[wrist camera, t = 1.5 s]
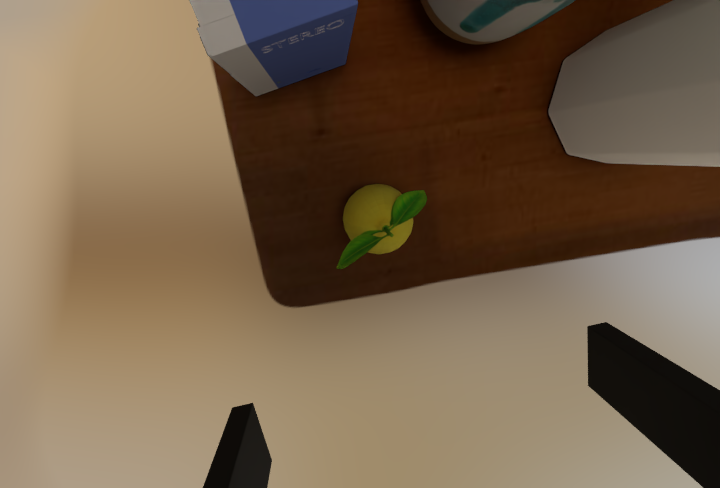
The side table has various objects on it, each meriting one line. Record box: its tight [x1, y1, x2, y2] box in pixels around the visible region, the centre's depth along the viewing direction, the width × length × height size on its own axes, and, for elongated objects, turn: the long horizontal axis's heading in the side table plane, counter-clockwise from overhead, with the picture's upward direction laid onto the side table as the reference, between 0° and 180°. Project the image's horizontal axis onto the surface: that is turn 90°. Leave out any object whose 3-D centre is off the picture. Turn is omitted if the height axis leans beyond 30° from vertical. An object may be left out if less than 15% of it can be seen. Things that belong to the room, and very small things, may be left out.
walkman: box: [190, 0, 358, 96], centre depth 22 cm, size 8×3×12 cm, turn 109°
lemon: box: [337, 184, 427, 269], centre depth 27 cm, size 7×6×10 cm
